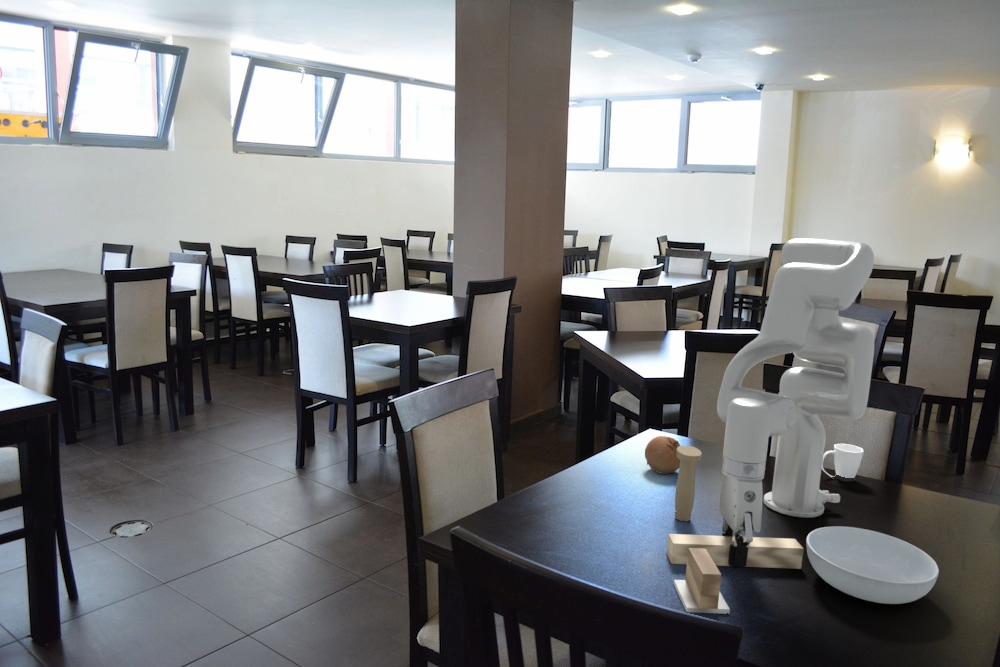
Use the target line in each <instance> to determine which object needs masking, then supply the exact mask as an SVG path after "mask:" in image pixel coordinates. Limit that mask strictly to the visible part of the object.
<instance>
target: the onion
mask: <svg viewBox="0 0 1000 667" xmlns="http://www.w3.org/2000/svg"><path fill="white" fill-rule="evenodd" d="M678 446H681V444H680V443H679V441H678V440H676V439H675V438H673V437H669V436H666V435H665V436H663V435H661V436H660V435H659V436H656V437H654V438H652V439H651V440H650V441H649V442H648V443H647V444H646V446H645V450H644V458H645V460H646V465H647V466H649V468H650V469H651V470H653V471H654V472H655V473H657V474H662V475H664V474H665V475H666V474H667V475H669V474H673V473H675V472H676V471H677V470H678V471H679V467H680V459H678V458H677V455H676V451H677V447H678Z"/></svg>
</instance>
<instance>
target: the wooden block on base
mask: <svg viewBox="0 0 1000 667" xmlns="http://www.w3.org/2000/svg"><path fill="white" fill-rule="evenodd" d="M721 580H722V573H721V572H720V570H719V568H718V566H717V565H715V563H714V562H713V560H712V558H711V557H710V555H709V553H708V552H707V550H706V549H703V548H688V557H687V564H686V569H685V579H673V586H674V588H675V590H676V593H677V594H678V598H679V599H680V602H681V603H682V605H683V607H684V610H685V612H686V613H697V614H698V613H699V614H700V613H701V614H702V613H703V614H724V615H727V613H728V615H729V614H730V612H731V608H730V607H729V606H728V604H727V601H726V600H725V599H724V596H723V594H722V593H721V591H720V590H721Z"/></svg>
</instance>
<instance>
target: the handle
mask: <svg viewBox="0 0 1000 667" xmlns="http://www.w3.org/2000/svg"><path fill="white" fill-rule="evenodd" d="M676 455H677V458H678V459H680V467H679V469H678V474H677V480H676V487H675V498H674V510H675V512H674V517H675V519H677V520H678V521H680V522H688V521H689V520H691V519H692V518H691V517H692V512H693V508H694V503H695V493H696V468H697V463H698V462H700V461H701V459H702V455H703V454H702V451H701V450H700V449H699V448H697V447H695V446H691V445H680V446H678V447H677V451H676Z"/></svg>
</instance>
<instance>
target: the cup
mask: <svg viewBox="0 0 1000 667" xmlns="http://www.w3.org/2000/svg"><path fill="white" fill-rule="evenodd" d="M864 453H865V452H864V448H863V447H860V446H856V445H854V444H848V443H842V442H841V443H835V444H833V450H827V451H824V454H823V461H822V469H821V471H822V472H824V473H825V474H826V475H828V477H830V478H832V477H834V476H833V475H831V474H829V473H828V472H827V471H826V469H825V468H824V465H823V464H824V461H825V458H826V457H827V455H829V454H831V455H832V454H833V457H834V459H833V460H834V470H835V475H839V476H841V477H845V478H855V477H856V475H857V473H858V471H859V468H860V465H861V462H862V459H863V456H864Z"/></svg>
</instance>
